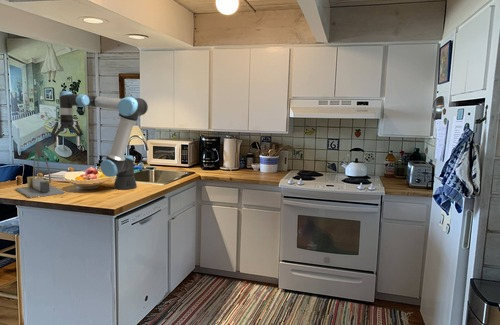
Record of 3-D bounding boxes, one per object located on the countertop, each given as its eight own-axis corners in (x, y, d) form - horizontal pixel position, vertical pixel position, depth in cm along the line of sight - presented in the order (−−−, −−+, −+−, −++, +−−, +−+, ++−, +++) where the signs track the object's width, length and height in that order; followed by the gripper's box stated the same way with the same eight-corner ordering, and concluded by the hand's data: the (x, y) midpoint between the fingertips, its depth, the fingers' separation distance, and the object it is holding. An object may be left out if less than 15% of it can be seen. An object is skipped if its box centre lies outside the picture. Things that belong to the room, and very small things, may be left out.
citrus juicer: (51, 182, 260) (49, 141, 256) (39, 185, 250) (37, 142, 246) (38, 181, 263) (36, 140, 259) (26, 184, 253) (24, 141, 249)
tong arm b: (32, 187, 234) (32, 178, 234) (36, 187, 236) (35, 178, 235) (42, 192, 222) (42, 182, 221) (46, 192, 223) (45, 182, 222)
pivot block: (27, 187, 238) (27, 175, 237) (39, 186, 243) (38, 174, 242) (30, 188, 234) (29, 177, 233) (42, 187, 239) (41, 175, 238)
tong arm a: (36, 186, 236) (36, 178, 235) (40, 186, 238) (39, 177, 237) (46, 192, 223) (45, 182, 222) (49, 191, 225) (49, 182, 224)
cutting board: (15, 189, 234) (15, 188, 234) (48, 186, 249) (48, 184, 249) (29, 198, 214) (29, 196, 214) (65, 193, 229) (65, 191, 228)
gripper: (83, 114, 251) (84, 144, 254) (44, 114, 233) (45, 146, 236) (87, 115, 246) (88, 145, 249) (48, 114, 228) (49, 147, 231)
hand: (67, 146), depth 243 cm, fingers open, 13 cm apart
